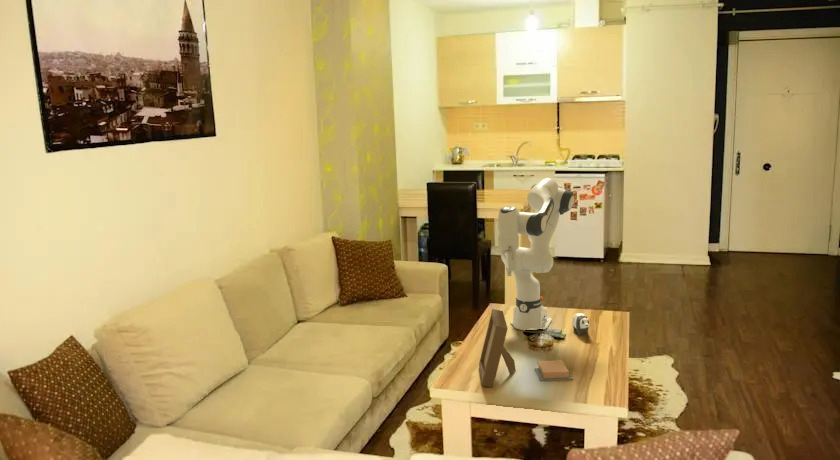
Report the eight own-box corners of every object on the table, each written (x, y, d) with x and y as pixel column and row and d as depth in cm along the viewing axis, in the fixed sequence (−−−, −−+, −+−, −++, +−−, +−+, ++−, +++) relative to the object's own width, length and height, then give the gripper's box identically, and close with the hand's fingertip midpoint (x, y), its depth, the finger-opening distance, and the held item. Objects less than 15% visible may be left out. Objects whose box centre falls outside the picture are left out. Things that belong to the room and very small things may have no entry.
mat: (534, 369, 284) (534, 368, 284) (566, 368, 284) (566, 367, 284) (540, 380, 272) (540, 379, 272) (573, 379, 272) (573, 378, 272)
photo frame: (481, 387, 268) (481, 325, 263) (478, 366, 289) (478, 309, 284) (520, 387, 267) (520, 325, 262) (514, 366, 288) (514, 308, 284)
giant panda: (571, 329, 331) (571, 309, 329) (582, 328, 331) (583, 309, 330) (580, 339, 317) (581, 319, 315) (592, 338, 317) (593, 318, 315)
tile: (562, 360, 285) (568, 371, 273) (562, 366, 285) (568, 377, 273) (537, 361, 284) (543, 372, 273) (537, 367, 285) (543, 378, 273)
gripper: (519, 249, 289) (520, 281, 291) (511, 239, 309) (512, 269, 311) (504, 250, 288) (505, 281, 291) (497, 239, 309) (498, 269, 311)
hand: (508, 275), depth 301 cm, fingers closed
